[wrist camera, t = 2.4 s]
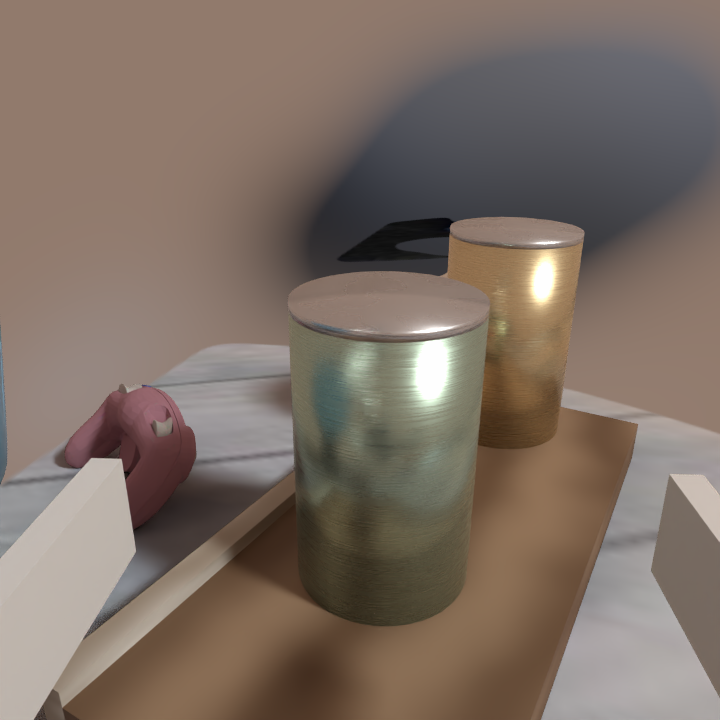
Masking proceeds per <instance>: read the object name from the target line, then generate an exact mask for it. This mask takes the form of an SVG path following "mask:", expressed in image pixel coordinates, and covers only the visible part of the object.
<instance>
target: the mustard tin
mask: <svg viewBox="0 0 720 720" xmlns="http://www.w3.org/2000/svg"><path fill="white" fill-rule="evenodd" d="M583 239H584V231H583V230H582V229H580V228H579V227H576V226H574V225H570V224H566V223H562V222H556V221H550V220H543V219H533V218H519V217H485V218H473V219H466V220H461V221H457V222H455V223H453V224H451V226H450V242H449V243H450V244H449V259H448V260H449V261H448V272H447V273H446V274H444V275H442V276H440V277H445V278H450V279H454V280H457V281H461V282H464V283H467V284H469V285H471V286H474V287H476V288H477V289H479V290H481V291H482V292H484V293H485V294H486V295H487V296H488V298H489V300H490V310H489V321H488V333H487V345H486V356H485V368H484V379H483V391H482V402H481V414H480V425H479V437H478V445H479V446H484V447H489V448H497V449H524V448H530V447H535V446H538V445H541V444H544V443H546V442H548V441H549V440H551V439H552V438H553V437H554V436H555V434H556V432H557V428H558V421H559V414H560V407H561V399H562V392H563V384H564V377H565V369H566V363H567V356H568V348H569V341H570V334H571V326H572V319H573V312H574V305H575V297H576V290H577V283H578V275H579V267H580V261H581V253H582V246H583Z"/></svg>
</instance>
